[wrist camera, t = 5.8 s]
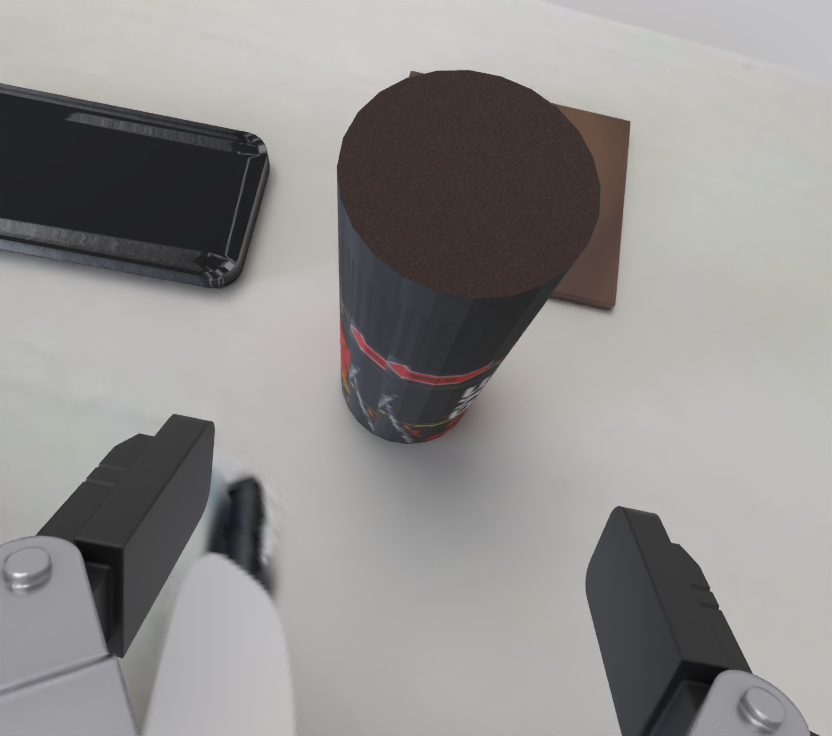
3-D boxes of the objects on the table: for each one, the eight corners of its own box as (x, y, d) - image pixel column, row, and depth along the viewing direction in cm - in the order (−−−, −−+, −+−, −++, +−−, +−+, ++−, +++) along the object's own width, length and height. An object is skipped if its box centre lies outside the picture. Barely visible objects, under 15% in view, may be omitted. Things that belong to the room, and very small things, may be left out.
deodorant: (431, 469, 27) (528, 350, 13) (314, 398, 27) (282, 206, 13) (495, 359, 29) (642, 150, 15) (386, 294, 29) (424, 30, 15)
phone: (231, 281, 27) (-124, 215, 26) (236, 292, 28) (-106, 229, 27) (272, 135, 30) (-50, 70, 29) (275, 150, 31) (-36, 88, 30)
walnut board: (367, 257, 30) (367, 251, 29) (409, 78, 33) (410, 69, 33) (610, 310, 30) (615, 305, 30) (626, 128, 34) (630, 120, 33)
